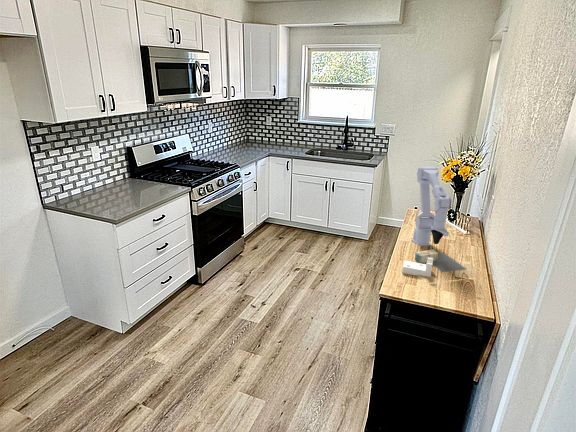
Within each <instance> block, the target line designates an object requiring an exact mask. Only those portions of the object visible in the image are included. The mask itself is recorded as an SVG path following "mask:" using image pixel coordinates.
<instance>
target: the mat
mask: <svg viewBox="0 0 576 432" xmlns="http://www.w3.org/2000/svg"><path fill="white" fill-rule="evenodd" d="M432 266H433V267H434V268H436V269H437V270H439V271H440V272H441V273H445V272H455V271H464V270H467V268H466V267H465V266H463V265H462V264H460V263H459V262H458V261H456V260H455V259H453V257H450V256H449V255H448V254H446V253H445V252H438V261H433V264H432Z"/></svg>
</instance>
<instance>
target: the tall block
mask: <svg viewBox="0 0 576 432" xmlns="http://www.w3.org/2000/svg"><path fill="white" fill-rule="evenodd" d="M438 253H439V252H438V251H436V250H435V249H427V250H422V251H416V252H415V253H414V254H415V255H414V259H415V260H416V261H417V263H421V264H425V263H427V259H428V257H429V258H433V261H438Z"/></svg>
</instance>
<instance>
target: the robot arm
mask: <svg viewBox="0 0 576 432" xmlns="http://www.w3.org/2000/svg"><path fill="white" fill-rule="evenodd" d="M416 175H417V182H418V183H419V187H420V190H419V191H420V193H419V194H420V212H419V213H418V214H417V215H416V216H415V222H414V223H415V228H414V231H413V236H412V239H411V241H412V242H413V243H415V244H417V245H418V246H419V247H424V246H433V244H434V245H439V243H440V242H441V239H442V238H443V237H449V235H450V232H449V231H448V230H447V229H446V222H447V217H448V211H449V208H451V207H452V199H451V197H450V196H448V195H447V193H446V192H445V189H444V187H443V186H442V185H440V182H439V177H438V176H439V168H438V167H437V166H418V169H417V172H416ZM430 185H431V187H432V189H430ZM430 190H431V191H430ZM430 192H432V196H433V197H434V214H433V213H432V212H431V195H430V194H431V193H430ZM431 237H432V239H433V244H432V243H431V242H430V241H431Z"/></svg>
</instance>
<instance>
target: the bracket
mask: <svg viewBox="0 0 576 432" xmlns="http://www.w3.org/2000/svg"><path fill="white" fill-rule="evenodd" d="M432 264H433V258H429V257H428V259H427V262H426V264H425V263H419V262H414V261H410V260H404V262H403V264H402V271H401V273H402V274H408V275H413V276H417V277H419V276H423V277H429V278H431V275H432V269H433V265H432Z"/></svg>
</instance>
